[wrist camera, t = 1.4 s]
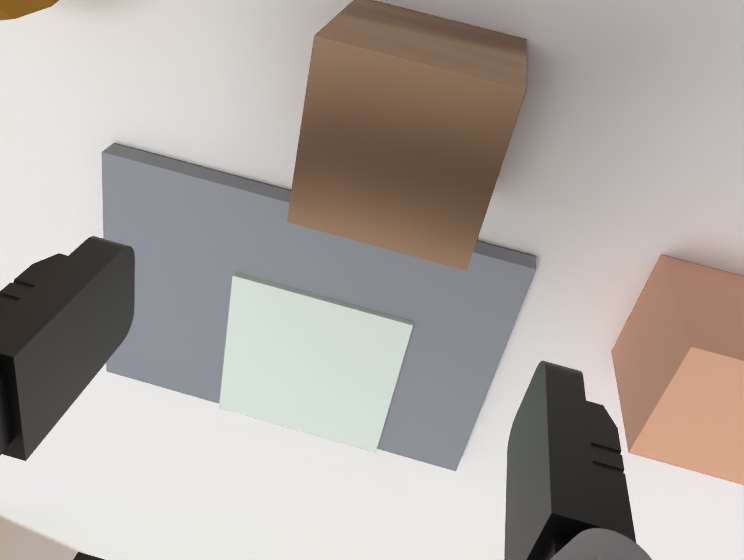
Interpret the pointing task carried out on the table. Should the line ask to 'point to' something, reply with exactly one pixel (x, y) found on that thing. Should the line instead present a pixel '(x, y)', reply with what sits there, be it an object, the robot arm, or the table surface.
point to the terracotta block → (685, 369)
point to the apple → (22, 7)
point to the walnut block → (405, 130)
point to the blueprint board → (303, 313)
